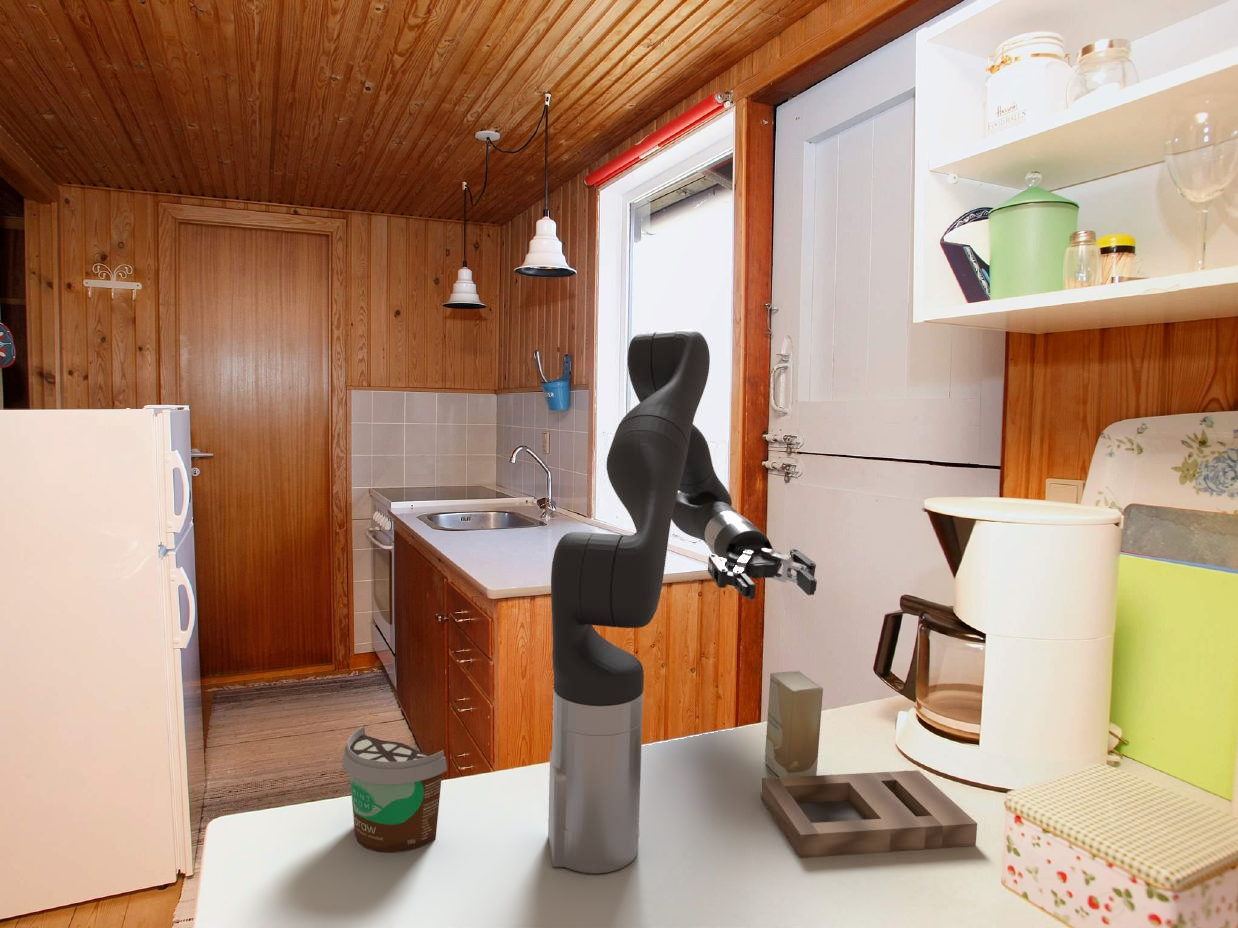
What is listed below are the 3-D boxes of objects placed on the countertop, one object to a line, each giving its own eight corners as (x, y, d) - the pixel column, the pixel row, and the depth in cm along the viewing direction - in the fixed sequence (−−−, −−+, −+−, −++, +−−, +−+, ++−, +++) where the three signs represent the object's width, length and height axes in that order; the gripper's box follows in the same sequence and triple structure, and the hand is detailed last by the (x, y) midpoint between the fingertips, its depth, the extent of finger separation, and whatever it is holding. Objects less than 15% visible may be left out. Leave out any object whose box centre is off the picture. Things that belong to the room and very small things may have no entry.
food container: (316, 837, 84) (315, 746, 83) (360, 810, 89) (360, 724, 88) (405, 873, 78) (406, 775, 77) (446, 842, 84) (447, 751, 83)
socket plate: (799, 857, 83) (800, 834, 82) (760, 798, 94) (762, 778, 94) (975, 845, 86) (977, 823, 86) (917, 789, 98) (918, 770, 97)
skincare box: (763, 762, 104) (767, 671, 103) (792, 758, 105) (797, 668, 104) (787, 786, 98) (792, 689, 96) (819, 782, 99) (824, 686, 98)
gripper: (693, 522, 117) (735, 568, 102) (782, 517, 120) (835, 561, 105) (690, 569, 119) (730, 620, 104) (777, 563, 122) (829, 612, 107)
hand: (783, 590), depth 105 cm, fingers open, 8 cm apart
